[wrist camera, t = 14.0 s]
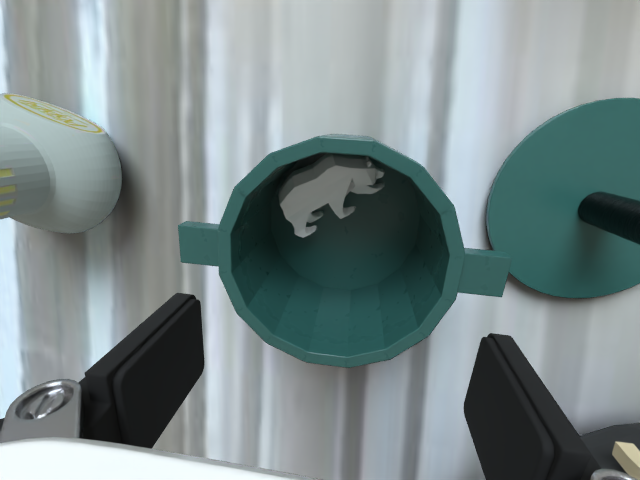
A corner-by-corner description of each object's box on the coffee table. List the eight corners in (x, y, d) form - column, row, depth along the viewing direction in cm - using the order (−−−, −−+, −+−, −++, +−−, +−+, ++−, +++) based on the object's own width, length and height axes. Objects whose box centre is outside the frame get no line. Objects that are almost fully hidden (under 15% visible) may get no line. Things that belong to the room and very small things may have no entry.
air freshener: (149, 143, 27) (37, 150, 18) (128, 230, 30) (23, 276, 21) (25, 87, 27) (-156, 64, 18) (16, 180, 30) (-144, 204, 20)
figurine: (297, 221, 27) (266, 180, 25) (387, 178, 26) (365, 128, 23) (299, 241, 26) (265, 199, 23) (396, 196, 24) (372, 144, 21)
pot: (230, 126, 26) (162, 125, 17) (480, 143, 24) (549, 151, 15) (234, 282, 30) (181, 346, 21) (445, 306, 29) (484, 386, 20)
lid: (509, 93, 23) (569, 78, 16) (739, 105, 22) (907, 95, 15) (465, 281, 28) (499, 330, 21) (653, 301, 26) (752, 359, 20)
